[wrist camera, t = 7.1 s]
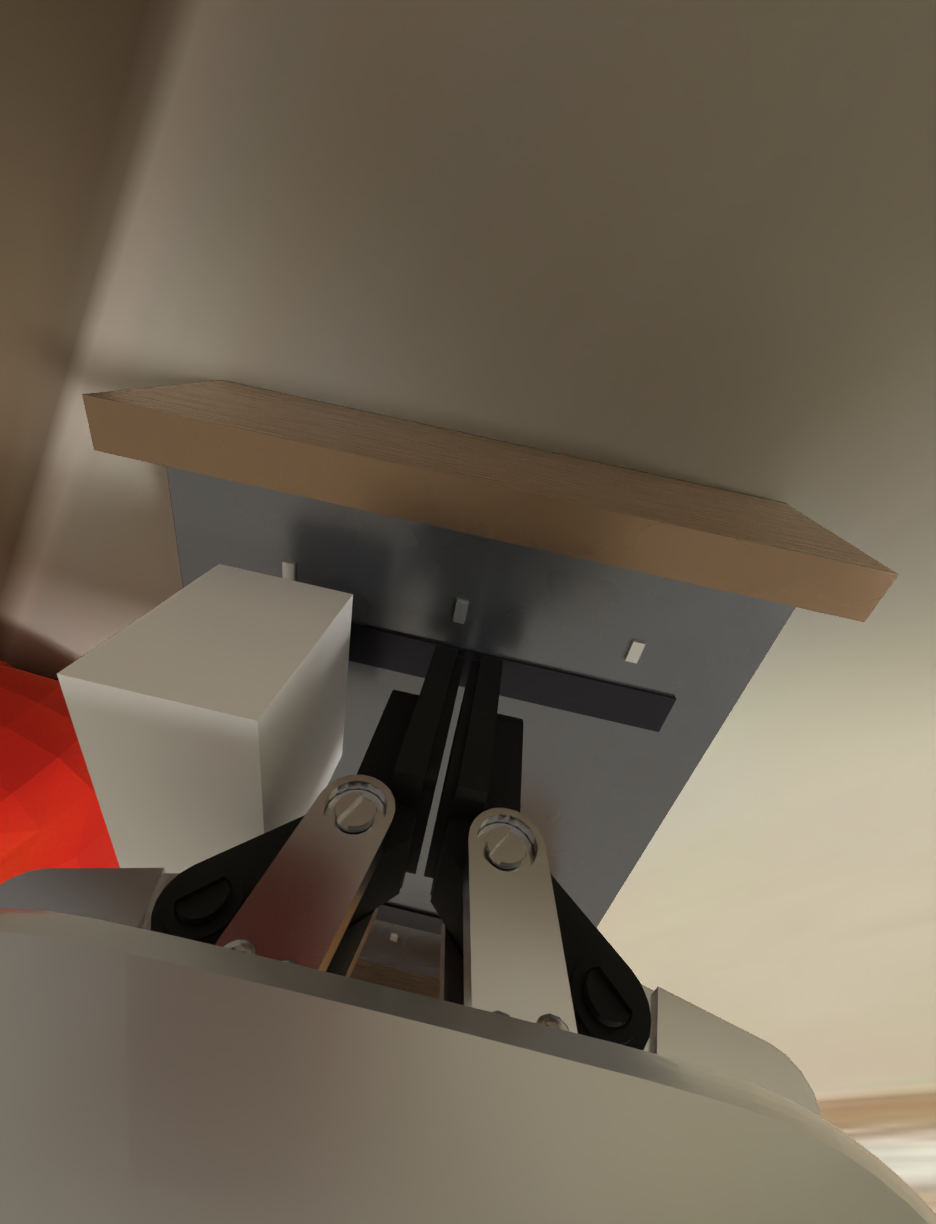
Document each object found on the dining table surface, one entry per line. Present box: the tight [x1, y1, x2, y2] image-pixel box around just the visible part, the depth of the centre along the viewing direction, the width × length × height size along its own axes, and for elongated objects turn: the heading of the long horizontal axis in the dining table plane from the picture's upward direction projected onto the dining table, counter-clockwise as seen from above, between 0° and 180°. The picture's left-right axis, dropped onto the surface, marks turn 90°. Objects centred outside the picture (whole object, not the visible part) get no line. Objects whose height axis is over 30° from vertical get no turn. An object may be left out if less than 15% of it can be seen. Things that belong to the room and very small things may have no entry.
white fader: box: [57, 564, 353, 873], centre depth 10 cm, size 3×5×5 cm, turn 170°
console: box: [82, 380, 898, 999], centre depth 16 cm, size 15×24×4 cm, turn 170°
